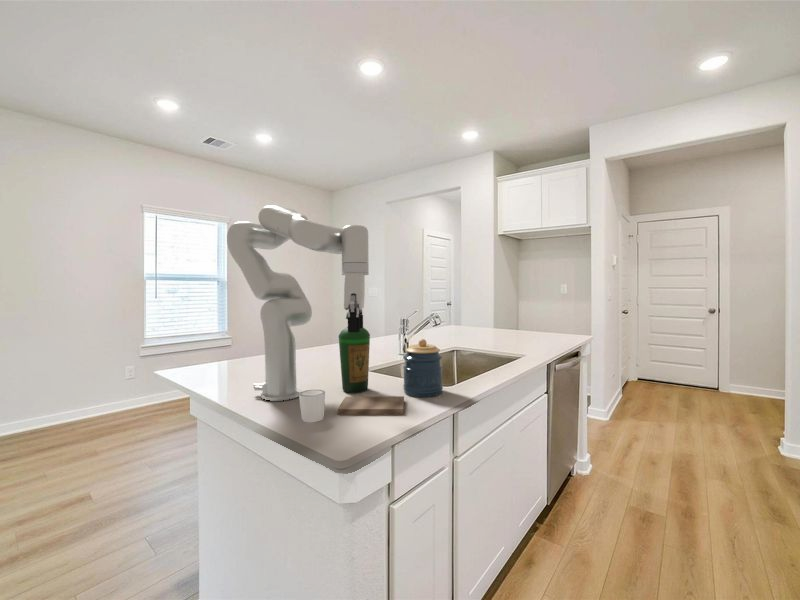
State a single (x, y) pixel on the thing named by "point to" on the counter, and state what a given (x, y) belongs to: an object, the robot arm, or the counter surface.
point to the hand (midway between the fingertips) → (355, 330)
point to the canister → (422, 370)
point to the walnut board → (372, 405)
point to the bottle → (354, 359)
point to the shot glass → (312, 405)
